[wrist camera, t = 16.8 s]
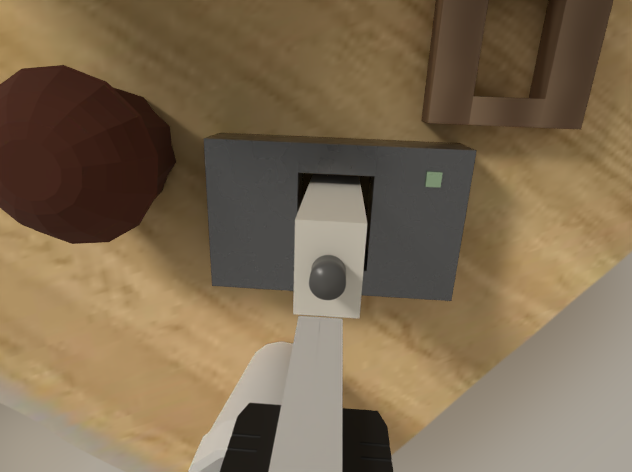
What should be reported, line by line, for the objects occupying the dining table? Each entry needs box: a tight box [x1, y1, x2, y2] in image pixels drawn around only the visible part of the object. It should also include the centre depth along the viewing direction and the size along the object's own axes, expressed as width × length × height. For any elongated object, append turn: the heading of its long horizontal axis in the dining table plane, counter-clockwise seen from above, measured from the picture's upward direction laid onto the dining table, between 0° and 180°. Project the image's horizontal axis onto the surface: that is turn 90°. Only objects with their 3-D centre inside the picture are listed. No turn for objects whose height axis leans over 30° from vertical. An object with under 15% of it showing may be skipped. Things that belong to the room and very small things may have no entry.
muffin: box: [0, 65, 176, 244], centre depth 27 cm, size 12×11×10 cm
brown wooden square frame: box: [422, 0, 613, 129], centre depth 26 cm, size 10×10×2 cm
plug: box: [293, 174, 367, 318], centre depth 26 cm, size 4×5×14 cm, turn 178°
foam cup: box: [188, 341, 293, 472], centre depth 32 cm, size 10×9×13 cm
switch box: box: [204, 133, 476, 301], centre depth 30 cm, size 18×11×4 cm, turn 88°
